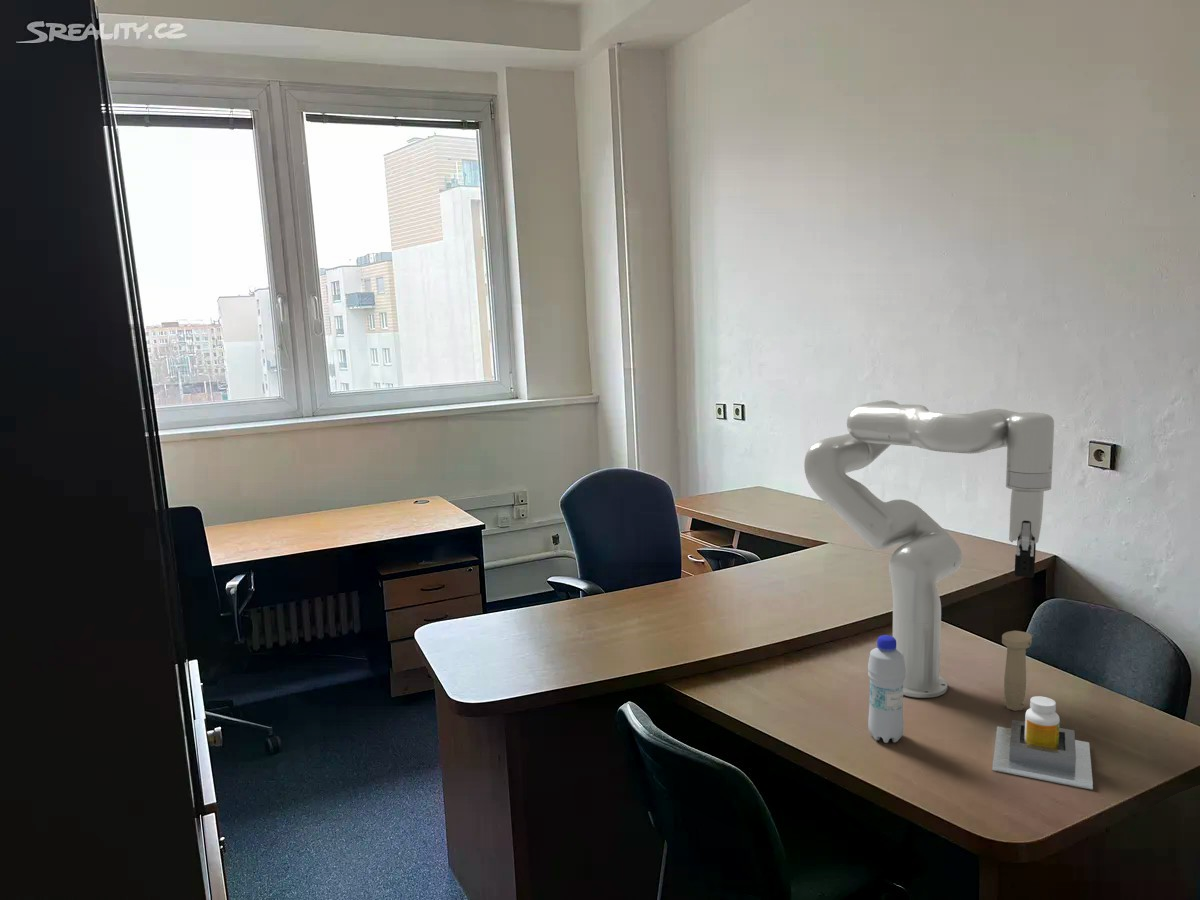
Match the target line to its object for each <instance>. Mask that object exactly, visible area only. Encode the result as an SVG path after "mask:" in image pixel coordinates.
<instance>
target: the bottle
mask: <svg viewBox="0 0 1200 900" xmlns="http://www.w3.org/2000/svg"><path fill="white" fill-rule="evenodd" d="M876 646H877V647H874V648H873V649H871V650H870V652H869V658H868V663H867V670H868V672H867V675H868V677H869V706H868V707H869V708H868V719H867V720H868V721H867V724H868V725H867V726H868V732H869V734H870V735H871V736H872V737H873V739H874V740H875V741H877V740H879V741H880V740H881V739H882V741H883V743H885V744H888V743H889V741H890V739H891V741H892V742H893V743H897V742H898V741H899V740H900V739H901V738H902V736H903V734H904V726H905V725H904V724H905V723H904V711H903V710H904V695H903V681H904V680H905V672H906V669H905V661H904V655H903V653H902V652H901V651H899V650H897V649H896V639H895V638H894V637H893V635H887V634H883V635H880V636H878V638H877V640H876Z"/></svg>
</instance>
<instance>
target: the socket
mask: <svg viewBox="0 0 1200 900" xmlns="http://www.w3.org/2000/svg"><path fill="white" fill-rule="evenodd" d="M1010 727H1011V728H1009V727H1004V726H998V725H997V726H996V735H995V742H994V750H993V751H994V752H993V759H992V769H991V770H992V771H993V772H1000V773H1005V774H1011V775H1015V776H1021V777H1026V778H1031V779H1037V780H1041V781H1046V782H1051V783H1056V784H1061V785H1067V786H1070V787H1075V788H1082V789H1085V790H1086V789H1087V790H1093V789H1094V787H1093V785H1094V782H1093V772H1092V771H1093V770H1092V759H1091V758H1092V757H1091V748H1090V742H1088V741H1084V740H1077V739H1076V737H1075V734H1076V733H1075V729H1069V728H1062V727H1059V748H1058V749H1052V748H1046V747H1041V746H1035V745H1030V744H1024V734H1025V721H1022V720H1021V721H1020V720H1015V719H1012V720H1011V726H1010Z"/></svg>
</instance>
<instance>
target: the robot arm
mask: <svg viewBox="0 0 1200 900" xmlns="http://www.w3.org/2000/svg"><path fill="white" fill-rule="evenodd" d="M846 420H847V421H846V427H847V431H848V432H849V433H846V434H841V435H837V436H831V437H828V438H823V439H821V440H819V441H816V442H815V443H814V444H812V445H811V447H810V448H808V450H807V452H806V454H805V457H804V461H803V462H804V463H803V466H804V473H805V477H806V480H807V483H808V485H809V487H810V488H811V490H812V491H813V492H814V493H815V495H816V496H818V498H820V499H821V501H823V502H824V503H826V504H827V506H829V507H830V508H831V509H832V510H833V511H834V512H835V513H837V514H838V516H839V517H840V518H841V519H842V521H844V522H845V523H846V524H847V525H848V526H849V527H850V528H851V529H852V530H853V531H854V532H855V533H856V534H858V535H859V537H860V538H861V539H862V540H863V541H864V542H865V543H866V544H867V545H869V546H870V547H871V548H873V549H875V550H886V549H890V548H893V547H897V546H898V545H900V544H901V545H900V546H898V547H897V548H896V549H895V550H894V551H893V553H892V554H891V556H890V559H889V561H888V562H889V563H888V571H889V578H890V582H891V583H890V584H891V590H892V637H894V638H895V639H896V649H897V650H899V651H901V652H902V653H903V655H904V661H905V669H906V672H905V680H904V681H903V696H906V697H911V698H916V699H917V698H919V699H927V698H936V697H940V696H942V695H944V694H945V693H946V692H947V691H948V682H947V681H946V679H945V678H943V676H941V675H940V673H941V639H942V638H941V636H942V634H941V630H942V604H941V603H942V602H941V598H940V595H939V591H938V587H937V583H938V582H939V581H941V580H943V579H945V578H948V577H950V576H951V575H953V574H955V573H956V572H957V571H958V570H959V569H960V568H961V566H962V562H963V553H962V552H963V551H962V549H961V547H960V545H959V544H958V542H957V541H956V540H955V538H954V537H952V535H951V534H950V533H949V532H947V530H945V529H944V528H943V527H942V526H941V525H940V524H939V523H938V522H937V521H936V520H935V519H934V518H932V517H931V516H930V515H929V514H928V513H927V512H925V510H924V509H923V508H920V506H918V505H917V504H915V503H913V502H912V501H909V500H906V499H893V500H889V501H883V500H881V499H880V498H879V497H877V496H876V495H875V494H874V493H872V491H871V490H870V489H869V488H868V487H866V486H865V485H864V484H863V483H861V482H859V481H857V480H856V479H854V478H851V476H849V475H848V473H850V472H855V471H859V470H862V469H864V468H866V467H868V466H869V465H870V464H871V463H873V462H874V461H875V460H876V459H877V458H878V457H879V456H881V454H883V453H884V451H886V450H887V449H888V448H889V447H890V446H891V445H892V446H907V447H917V448H920V449H923V450H928V451H931V452H932V451H935V452H939V453H940V452H941V453H952V454H953V453H954V454H968V455H969V454H970V455H971V454H979V453H980V454H981V453H984V452H987V451H991V450H995V449H1000V448H1006V470H1005V471H1006V473H1005V474H1006V475H1005V477H1006V478H1005V487H1006V488H1007V489H1010V490H1011V495H1010V505H1009V506H1010V509H1009V512H1010V513H1009V531H1008V532H1009V534H1008V537H1009V538H1008V540H1009V542H1011V543H1013V542H1014V541H1015V542H1016V553H1015V555H1014V560H1015V561H1014V576H1015V577H1021V578H1028V579H1029V578H1031V579H1032V578H1034V577H1035V571H1036V570H1035V568H1036V566H1035V564H1036V551H1037V549H1036V548H1037V547H1036V546H1037V544H1038V543H1039V539H1040V535H1041V530H1042V521H1043V512H1044V495H1045V493H1044V492H1046V491H1048V492H1049V491H1050V490H1052V480H1053V479H1052V477H1053V459H1054V458H1053V456H1054V437H1055V436H1054V435H1055V434H1054V433H1055V421H1054V417H1052V416H1051V414H1048V413H1044V412H1043V413H1042V412H1018V411H1013V410H1008V409H1003V408H1002V409H1001V408H990V409H986V410H980V411H975V412H971V413H947V412H946V413H945V412H943V413H942V412H934V411H930V410H929V409H928V408H927V406H925V405H922V404H900V403H899V402H897V401H894V400H889V399H888V400H880V401H878V400H877V401H874V402H873V401H872V402H866V403H863V404H860V405H858V406H856V407H854V408H853V409H852V410H850V413H849V414H848V416H847V419H846Z"/></svg>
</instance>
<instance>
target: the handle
mask: <svg viewBox="0 0 1200 900" xmlns="http://www.w3.org/2000/svg"><path fill="white" fill-rule="evenodd" d="M1032 639H1033V635H1032V634H1030V633H1029V632H1026V631H1021V630H1011V631H1010V630H1009V631H1006V632H1004V633H1003V634H1002V635H1001V643H1002V645H1003V646H1005V647H1006V657H1005V669H1004V679H1003V680H1004V681H1003V689H1004V691H1003V695H1004V701H1005V707H1006V709H1007V710H1012V711H1013V712H1014V711H1015V712H1017V711H1022V710H1023V708H1024V701H1025V697H1026V690H1027V689H1026V687H1027V665H1026V664H1027V661H1026V656H1027V654H1026V653H1027V650H1026V649H1029V648H1030V647H1031V645H1032V643H1033V642H1032V641H1033V640H1032Z"/></svg>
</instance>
